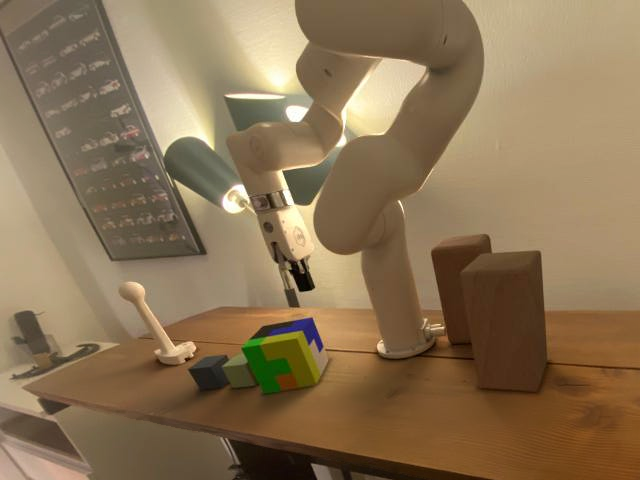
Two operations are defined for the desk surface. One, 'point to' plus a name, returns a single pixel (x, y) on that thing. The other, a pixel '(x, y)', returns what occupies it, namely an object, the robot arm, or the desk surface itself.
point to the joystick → (156, 327)
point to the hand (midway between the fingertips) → (307, 290)
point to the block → (456, 279)
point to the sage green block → (239, 372)
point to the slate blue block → (210, 372)
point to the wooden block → (506, 319)
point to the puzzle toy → (286, 355)
